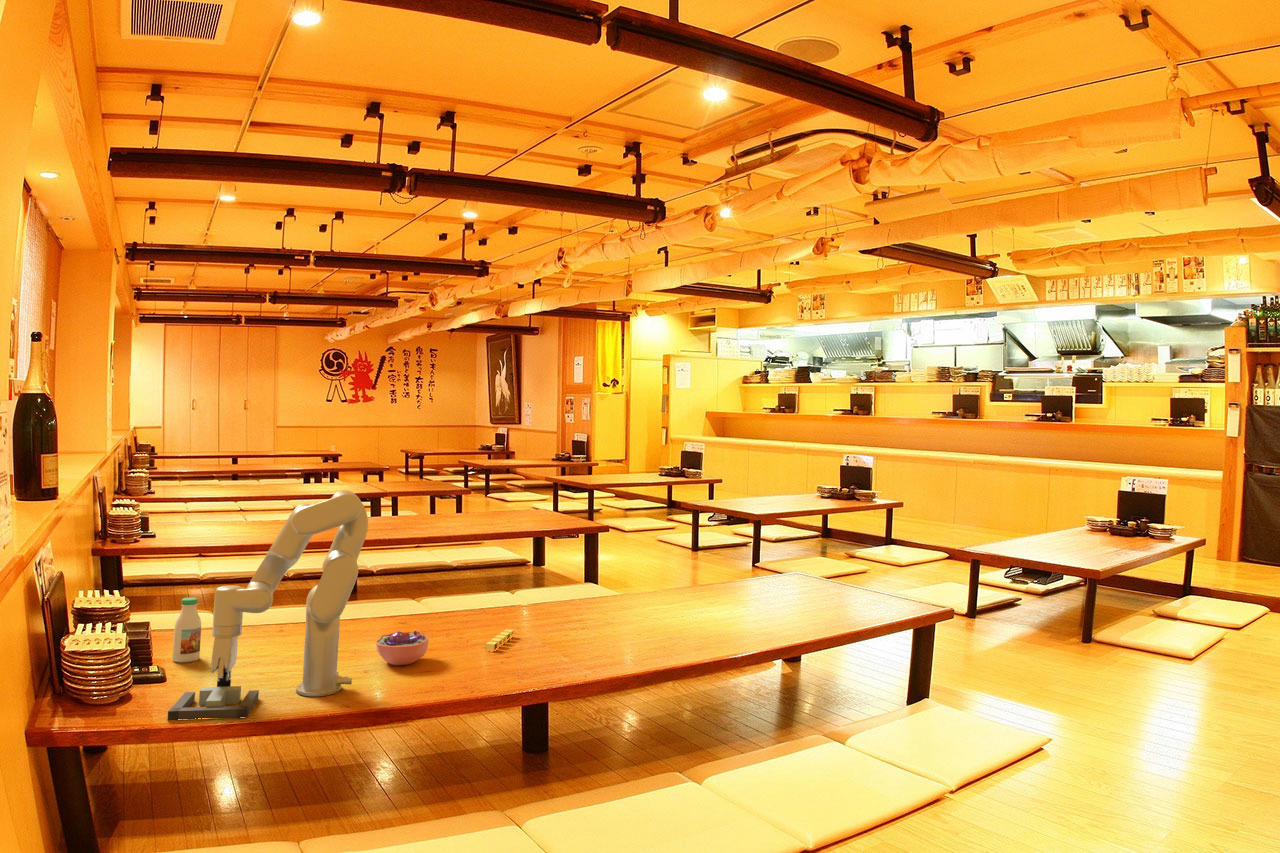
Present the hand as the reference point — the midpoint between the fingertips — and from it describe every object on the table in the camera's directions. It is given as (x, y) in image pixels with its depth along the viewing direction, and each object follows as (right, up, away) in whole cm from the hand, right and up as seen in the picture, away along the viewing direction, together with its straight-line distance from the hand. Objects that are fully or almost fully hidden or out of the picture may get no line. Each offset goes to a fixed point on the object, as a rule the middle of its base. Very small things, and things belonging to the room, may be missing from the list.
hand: (223, 694), depth 230 cm
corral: (+2, -1, -9) cm, 10 cm away
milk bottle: (-29, 0, +33) cm, 45 cm away
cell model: (+38, -4, +43) cm, 58 cm away
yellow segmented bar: (+68, -6, +74) cm, 101 cm away
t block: (+2, -1, -8) cm, 8 cm away
